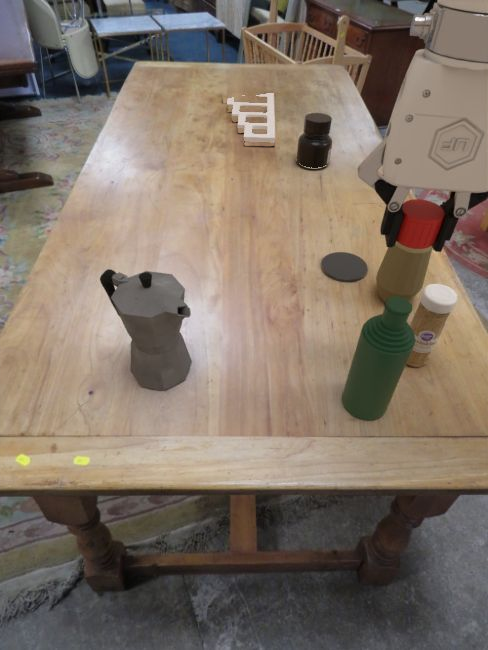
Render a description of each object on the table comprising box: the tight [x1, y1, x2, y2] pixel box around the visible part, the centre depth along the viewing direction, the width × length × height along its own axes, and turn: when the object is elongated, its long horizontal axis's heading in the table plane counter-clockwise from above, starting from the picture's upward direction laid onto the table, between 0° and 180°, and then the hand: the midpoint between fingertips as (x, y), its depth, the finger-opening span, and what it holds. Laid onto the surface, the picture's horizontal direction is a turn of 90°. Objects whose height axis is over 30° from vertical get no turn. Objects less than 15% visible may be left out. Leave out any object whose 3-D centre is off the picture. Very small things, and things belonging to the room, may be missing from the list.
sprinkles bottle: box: [406, 283, 459, 368], centre depth 64 cm, size 5×5×13 cm
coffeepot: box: [99, 268, 193, 391], centre depth 61 cm, size 15×9×18 cm, turn 57°
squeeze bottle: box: [375, 241, 433, 303], centre depth 73 cm, size 8×8×18 cm
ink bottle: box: [295, 112, 333, 168], centre depth 114 cm, size 10×9×12 cm
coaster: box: [320, 251, 369, 283], centre depth 85 cm, size 9×9×1 cm
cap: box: [396, 198, 445, 249], centre depth 44 cm, size 4×4×3 cm
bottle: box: [341, 296, 415, 422], centre depth 56 cm, size 6×6×19 cm
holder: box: [226, 92, 276, 143], centre depth 141 cm, size 45×18×3 cm, turn 178°
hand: (412, 240), depth 45 cm, fingers closed on cap, 4 cm apart
